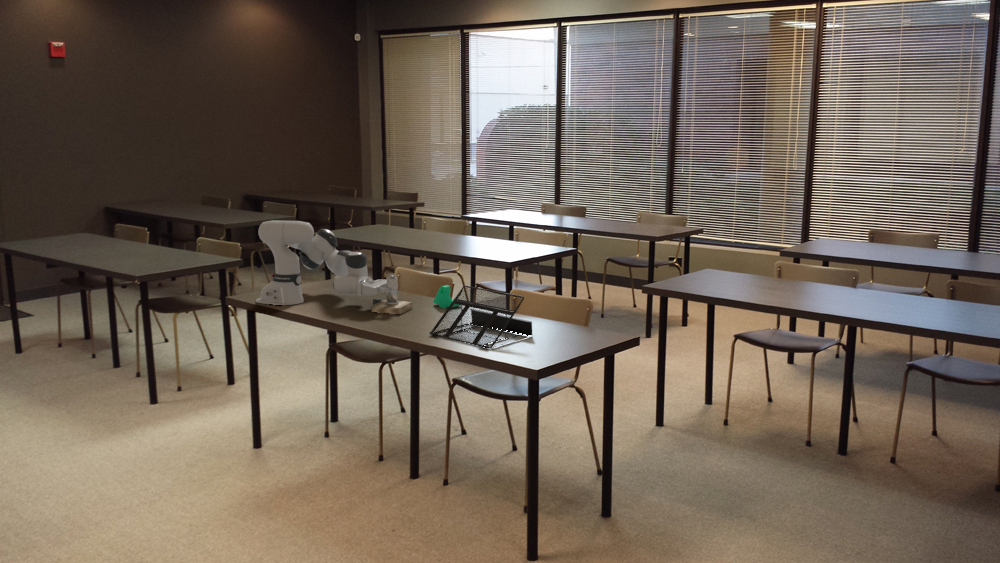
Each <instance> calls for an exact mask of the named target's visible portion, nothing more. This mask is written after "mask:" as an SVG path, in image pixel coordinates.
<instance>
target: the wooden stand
mask: <svg viewBox="0 0 1000 563" xmlns="http://www.w3.org/2000/svg"><path fill="white" fill-rule="evenodd" d="M386 301H387V299H384V300H381V302H379V303H377V304H374V305H373V304H372V305H371V313H373V312H377V314H384V313H389V314H388V315H395V314H400V315H403V314H404V313H407V312H409V311H410V310H412V309H413V302H412V301H406V300H405V301H403V300H398V301H399V304H398V305H386V304H385V302H386Z"/></svg>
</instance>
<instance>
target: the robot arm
mask: <svg viewBox="0 0 1000 563" xmlns="http://www.w3.org/2000/svg"><path fill="white" fill-rule="evenodd" d="M257 233H258V236H259V239H260V240H261V241H262V242H263V243H264V244H265V245H267V247H269V250H271V252H272V255H273V258H274V265H275V268H274V269H275V273H273V274H270V278H272V280H271V281H270V282H269V283H268V284H267V285H265V286H264V287H262V289H261V293H260V297H259V298H256V301H255V303H257V304H264V305H269V304H273V305H272V306H275V305H282V306H291V305H293V306H294V305H298V304H302V303H304V302H305V299H304V297H303V296H304V295H303V290H302V285H301V282H302V278H301V277H302V275H301V274H302V273H301V271H300V267H301V266H300V263H302V265H303V266H304V267H305V268H306V269H307V270H308V269H309V270H311V271H317V270H318V269H319V268H320V267H321V265H322V264H323V262H324V261H325V265H326V266H327V268H328V270H330V271H331V273H332V274H334V275H335V276H334V277H333V280H332V286H333V291H334V292H336V293H338V294H343V295H357V297H369V296H373V297H374V296H377V295H378V294H382V293H387V292H390V288H387V279H382V278H381V279H376V280H374V279H372V277H371V276H368V275H369V274H368V256H367V255H366V254H365V253H363V252H361V251H353V250H349V249H342V250H337V249H336V248H337V247H339V244H338V239H337V236H335V233H334V232H332V231H331V230H330V229H327V228H320V229H319V230H318V231H317V232H316V234H315V230H314V227H313V225H312V224H311V223H310V222H307V221H301V220H278V219H276V220H273V219H272V220H267V221H262V223H261V224H260V225H259V227H258V232H257ZM289 247H291V248H294V249H296V250H300V251H299V252H298V254H299V256H298V254H297V253H296V252H295V251H293V250H290V248H289ZM398 288H399V284H398V283H397V289H398Z"/></svg>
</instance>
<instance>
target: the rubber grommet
mask: <svg viewBox="0 0 1000 563" xmlns="http://www.w3.org/2000/svg"><path fill="white" fill-rule="evenodd" d="M381 301H382V298H377V297H376V298H372V305H374V304H377V303H379V302H381Z"/></svg>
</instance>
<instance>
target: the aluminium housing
mask: <svg viewBox="0 0 1000 563" xmlns="http://www.w3.org/2000/svg"><path fill="white" fill-rule="evenodd" d="M386 280H387V288H390V292H386V300H387V301H386V302H385V304H386V305H398V304H399V301H400V300H398V288H397V284H398V277H397V276H396V275H395V274H390V275H388V277H386Z"/></svg>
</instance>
